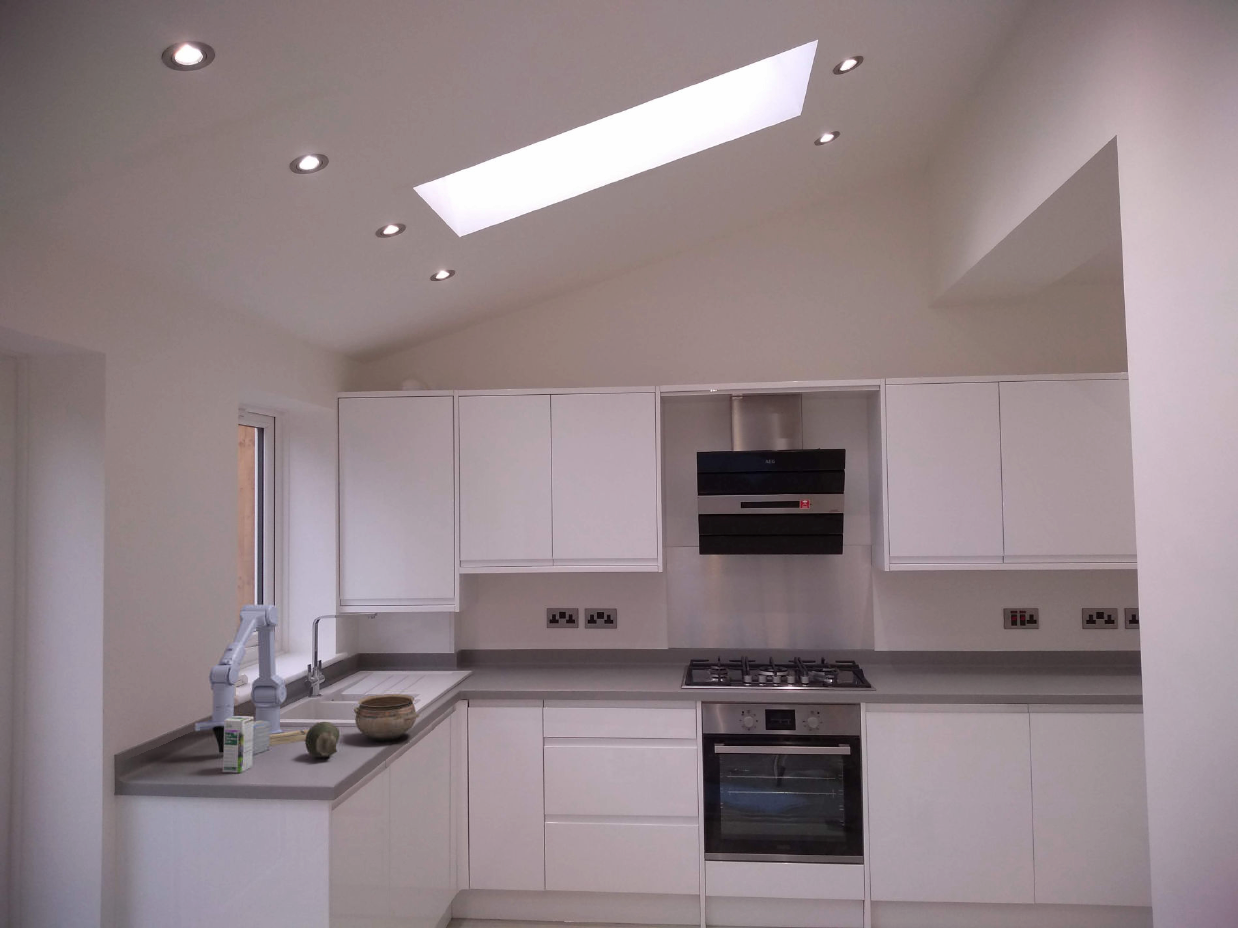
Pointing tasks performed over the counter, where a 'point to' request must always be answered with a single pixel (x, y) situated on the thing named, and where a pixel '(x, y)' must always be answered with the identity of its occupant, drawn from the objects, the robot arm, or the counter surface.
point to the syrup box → (238, 744)
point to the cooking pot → (385, 716)
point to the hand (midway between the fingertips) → (221, 751)
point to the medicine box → (261, 736)
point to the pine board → (288, 737)
